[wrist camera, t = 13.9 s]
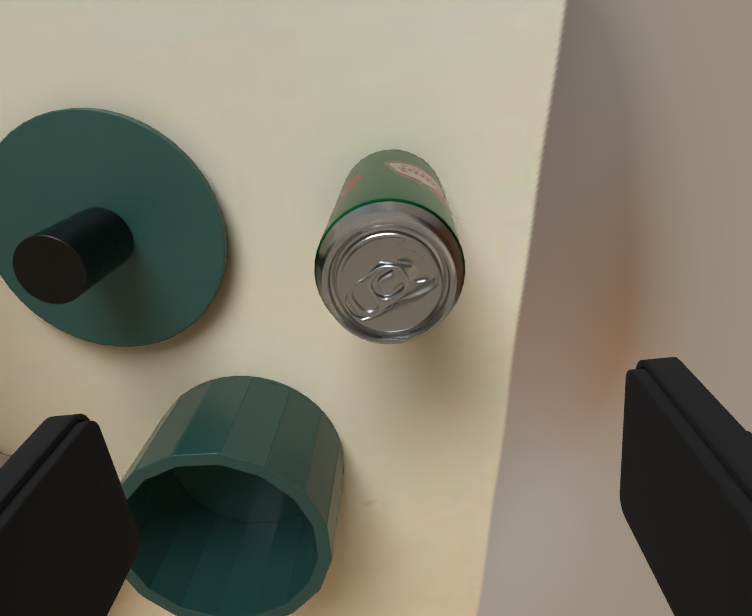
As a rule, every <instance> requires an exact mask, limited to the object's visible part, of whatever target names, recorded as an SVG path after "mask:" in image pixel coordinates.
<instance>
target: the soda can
mask: <svg viewBox="0 0 752 616" xmlns="http://www.w3.org/2000/svg"><path fill="white" fill-rule="evenodd" d="M464 277H465V260H464V256H463V251H462V247H461V244H460V241H459V238H458V235H457V232H456V229H455V226H454V223H453V220H452V217H451V214H450V210H449V207H448V204H447V201H446V198H445V195H444V192H443V189H442V186H441V183H440V181H439V178H438V176H437V175H436V173H435V171H434V170H433V169H432V168H431V167H430V165H429V164H428V163H426V162H425V161H424V160H423V159H421V158H420V157H418V156H416V155H414V154H412V153H409V152H406V151H401V150H383V151H379V152H376V153H373V154H371V155H369V156H367V157H366V158H364V159H362V160H361V161H360V162H359V163H358V164H357V165H355V167H354V168H353V169H352V170H351V172H350V173H349V175H348V177H347V178H346V180H345V183H344V185H343V188H342V190H341V193H340V195H339V197H338V200H337V202H336V205H335V207H334V209H333V212H332V214H331V217H330V219H329V222H328V224H327V226H326V229H325V231H324V234H323V236H322V238H321V241H320V244H319V246H318V249H317V253H316V258H315V280H316V285H317V288H318V292H319V295H320V297H321V299H322V301H323V303H324V305H325V306H326V307H327V309H328V310H329V311H330V313H331V314H332V315H333V316H334V317H335V319H336V320H337V321H338V322H339V323H340V324H341V325H342V326H343V327H344V328H345V329H347V330H348V331H349V332H351V333H352V334H354V335H356V336H358V337H360V338H362V339H365V340H367V341H370V342H375V343H380V344H399V343H404V342H409V341H412V340H414V339H417V338H419V337H421V336H423V335H425V334H427V333H428V332H430V331H431V330H432V329H434V328H435V327H436V326H437V325H438V324H439V323H440V322H441V321H442V320H443V319H444V318H445V317H446V316H447V315H448V314H449V313H450V311H451V310H452V308H453V307H454V306H455V304H456V302H457V300H458V298H459V296H460V294H461V291H462V287H463V284H464Z"/></svg>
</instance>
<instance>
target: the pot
mask: <svg viewBox="0 0 752 616" xmlns="http://www.w3.org/2000/svg"><path fill="white" fill-rule="evenodd" d="M343 472H344V468H343V453H342V448H341V443H340V440H339V437H338V435H337V432H336V430H335V428H334V426H333V425H332V423H331V421H330V420H329V419H328V417H327V416H326V415H325V413H324V412H323V411H322V410H321V409H320V408H319V407H318V406H317V405H316V404H315V403H314V402H312V401H311V400H310V399H309V398H307V397H306V396H304V395H303V394H301V393H300V392H298V391H297V390H295V389H292V388H290V387H288V386H286V385H284V384H281V383H278V382H275V381H272V380H268V379H264V378H259V377H251V376H231V377H223V378H218V379H214V380H210V381H208V382H205V383H202V384H200V385H198V386H196V387H194V388H192V389H191V390H189V391H188V392H186V393H185V394H183V395H181V396H180V398H179V399H178V400H177V401H176V402H175V403H174V404H173V405H172V407H171V408H170V409H169V411H168V412H167V413H166V414H165V415H164V417H163V418H162V419H161V421H160V422H159V424H158V425H157V427H156V428H155V430H154V431H153V433H152V434H151V436H150V438H149V439H148V441H147V442H146V444H145V445H144V447H143V448H142V450H141V451H140V453H139V454H138V456H137V458H136V459H135V461H134V462H133V464H132V465H131V467H130V468H129V470H128V471H127V473H126V474H125V476H124V477H123V479H122V481H121V482H120V483H121V486H122V489H123V491H124V494H125V497H126V500H127V502H128V505H129V508H130V510H131V513H132V516H133V518H134V521H135V524H136V526H137V529H138V532H139V536H140V547H139V551H138V554H137V557H136V559H135V561H134V563H133V565H132V567H131V569H130V571H129V573H128V575H127V577H126V579H127V580H128V582H129V583H130V584H131V585H132V586H133V587H134V588H135V589H136V590H137V592H138V593H139V594H141V595H142V596H143V597H145V598H146V599H148V600H150V601H152V602H153V603H155V604H157V605H159V606H160V607H162V608H164V609H166V610H167V611H169V612H171V613H172V614H174V615H177V616H286V615H289V614H292V613H293V612H295V611H296V610H297V609H298V608H299V607H301V606H302V605H303V604H304V603H305V602H306V601H307V600H309V599H310V598H311V597H312V596H313V595H314V594H316V593H317V592H318V591H319V590H320V588H321V586H322V583H323V581H324V578H325V576H326V573H327V571H328V568H329V566H330V563H331V561H332V555H333V548H334V540H335V533H336V525H337V518H338V510H339V503H340V495H341V487H342V480H343Z"/></svg>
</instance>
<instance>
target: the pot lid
mask: <svg viewBox="0 0 752 616" xmlns="http://www.w3.org/2000/svg"><path fill="white" fill-rule="evenodd" d="M226 259H227V239H226V230H225V225H224V221H223V217H222V213H221V210H220V207H219V205H218V202H217V199H216V197H215V195H214V193H213V191H212V189H211V187H210V185H209V184H208V182H207V180H206V179H205V177H204V176H203V174H202V173H201V171H200V170H199V169H198V167H197V166H196V165H195V164H194V162H193V161H192V160H191V159H190V158H189V157H188V156H187V155H186V153H185V152H184V151H182V150H181V149H180V148H179V147H178V146H177V145H176V144H175V143H174V142H172V141H171V140H170V139H168V138H167V137H166V136H164V135H163V134H161V133H160V132H159V131H157V130H156V129H154V128H152V127H150V126H148V125H146V124H145V123H143V122H141V121H139V120H136V119H134V118H131V117H129V116H126V115H123V114H120V113H116V112H112V111H108V110H102V109H94V108H70V109H63V110H57V111H51V112H48V113H45V114H42V115H39V116H36V117H34V118H32V119H30V120H28V121H26V122H24V123H22V124H21V125H20V126H18V127H17V128H16V129H14V130H13V131H11V132H10V133H9V134H8V135H7V136H6V137H5V138H4V139H3V140H2V141H1V142H0V275H1V276H2V278H3V279H4V281H5V282H6V283H7V285H8V286H9V288H10V289H11V290H12V291H13V292H14V293H15V294H16V296H17V297H18V298H19V299H20V300H21V301H22V302H23V303H24V304H25V305H26V306H27V307H28V308H30V309H31V310H32V311H33V312H34V313H35V314H37V315H38V316H39V317H41V318H42V319H43V320H45V321H46V322H48V323H50V324H51V325H53V326H55V327H56V328H58V329H60V330H62V331H64V332H66V333H68V334H70V335H72V336H75V337H78V338H80V339H83V340H86V341H89V342H94V343H98V344H102V345H110V346H128V347H132V346H141V345H148V344H152V343H156V342H160V341H163V340H165V339H168V338H170V337H173V336H174V335H176V334H178V333H180V332H181V331H183V330H185V329H186V328H187V327H189V326H190V325H191V324H192V323H194V322H195V321H196V320H197V319H198V318H199V317H200V316H201V315H202V314H203V313H204V311H205V310H206V309H207V307H208V306H209V304H210V303H211V302H212V300H213V299H214V297H215V295H216V293H217V291H218V289H219V287H220V284H221V281H222V278H223V275H224V271H225V265H226Z"/></svg>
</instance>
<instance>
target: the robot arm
mask: <svg viewBox="0 0 752 616" xmlns="http://www.w3.org/2000/svg"><path fill="white" fill-rule="evenodd" d="M620 502H621V507H622V511H623V514H624V516H625V518H626V520H627V522H628V524H629V526H630V528H631V530H632V532H633V534H634V536H635V538H636V540H637V542H638V544H639V546H640V548H641V550H642V552H643V554H644V556H645V558H646V560H647V562H648V564H649V566H650V568H651V570H652V572H653V574H654V576H655V578H656V580H657V582H658V584H659V586H660V588H661V590H662V592H663V594H664V596H665V598H666V600H667V602H668V604H669V606H670V608H671V610H672V612H673V614H674V616H752V433H750V432H748V431H746V430H745V429H744V428H743V427H742V426H741V425H740V424H739V423H738V422H737V421H736V420H735V418H734V417H733V416H732V415H731V414H730V413H729V412H728V411H727V410H726V409H725V408H724V407H723V406H722V405H721V404H720V402H719V401H718V400H717V399H716V398H715V397H714V396H713V395H712V394H711V393H710V392H709V391H708V390H707V389H706V387H705V386H704V385H703V384H702V383H701V382H700V381H699V380H698V379H697V378H696V377H695V376H694V375H693V374H692V373H691V372H690V370H689V369H688V368H687V367H686V366H685V365H684V364H683V363H682V362H681V361H680V360H679V359H678V358H676V357H669V358H659V359H648V360H640V361H639V362H638V364H637V366H636V369H633V370H629V371H628V372H627V374H626V384H625V404H624V423H623V442H622V461H621V480H620ZM139 547H140V536H139V532H138V529H137V526H136V524H135V521H134V518H133V516H132V513H131V510H130V508H129V505H128V502H127V500H126V497H125V494H124V491H123V489H122V486H121V483H120V481H119V478H118V475H117V473H116V470H115V467H114V465H113V462H112V459H111V457H110V454H109V451H108V448H107V446H106V443H105V440H104V438H103V435H102V432H101V430H100V427H99V425H98V424H97V423H96V422H94V421H90V420H89V418H88V417H87V416H86V415H83V414H74V415H64V416H53V417H49V418H47V419H46V420H45V421H44V422H43V423H42V424H41V425H40V426H39V427H38V428H37V429H36V430H35V431H34V432H33V433H32V434H31V436H30V437H29V438H28V439H27V440H26V441H25V442H24V443H23V444H22V445H21V446H20V447H19V448H18V450H17V451H16V452H15V453H14V454H13V455H12V456H11V457H10V458H9V459H8V460H7V461H6V462H5V463H4V465H3V466H2V467H1V468H0V616H107V615H108V613H109V611H110V609H111V607H112V605H113V603H114V601H115V599H116V597H117V595H118V593H119V591H120V589H121V587H122V585H123V583H124V581H125V579H126V577H127V575H128V573H129V571H130V569H131V567H132V565H133V563H134V561H135V559H136V557H137V554H138V551H139Z"/></svg>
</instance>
